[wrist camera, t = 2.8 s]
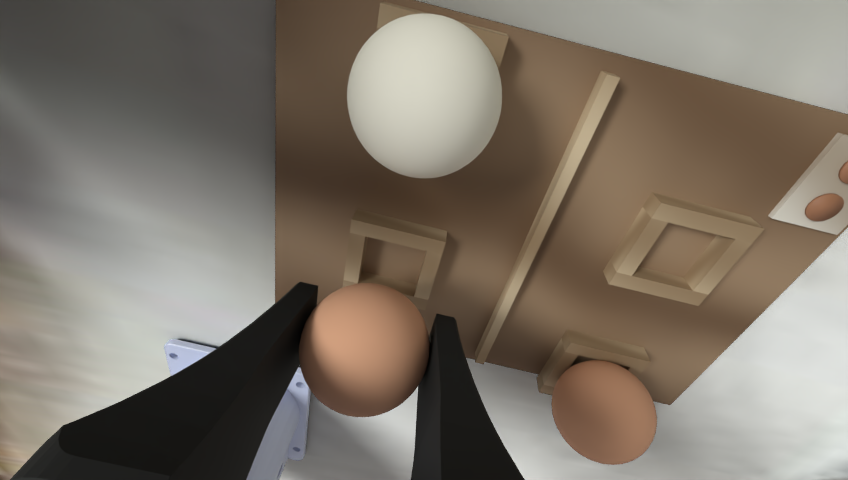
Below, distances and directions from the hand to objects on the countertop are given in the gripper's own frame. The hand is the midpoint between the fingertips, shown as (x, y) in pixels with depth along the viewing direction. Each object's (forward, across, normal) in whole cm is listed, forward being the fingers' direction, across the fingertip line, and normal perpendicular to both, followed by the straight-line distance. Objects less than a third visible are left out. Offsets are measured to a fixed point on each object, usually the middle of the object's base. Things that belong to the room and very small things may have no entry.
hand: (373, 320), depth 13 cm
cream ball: (+1, 0, -7) cm, 7 cm away
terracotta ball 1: (-1, 0, 0) cm, 1 cm away
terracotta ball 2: (+1, -10, +3) cm, 11 cm away
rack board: (+4, -5, -2) cm, 7 cm away
